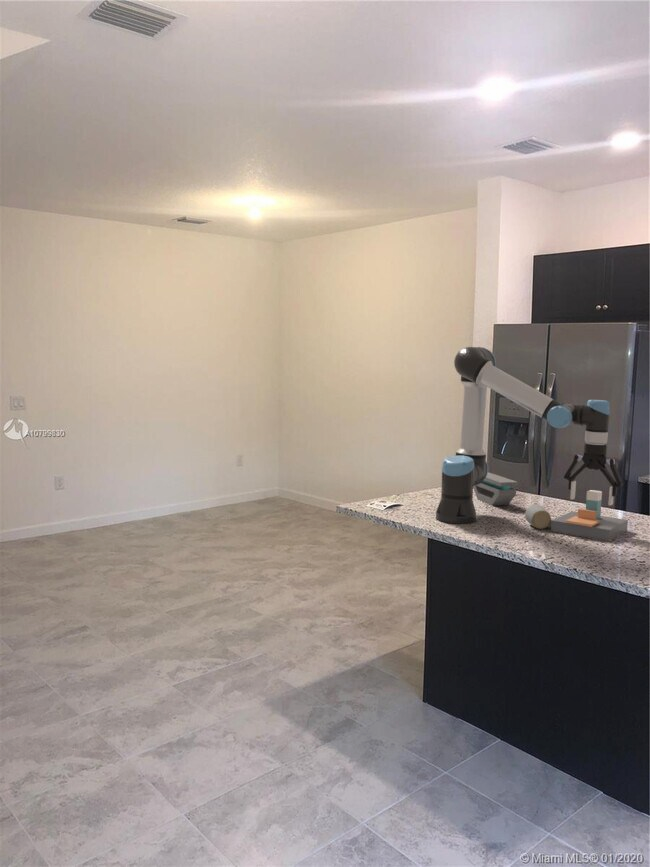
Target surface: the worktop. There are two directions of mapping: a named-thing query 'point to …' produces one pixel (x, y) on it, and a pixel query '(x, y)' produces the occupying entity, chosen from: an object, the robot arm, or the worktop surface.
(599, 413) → the robot arm
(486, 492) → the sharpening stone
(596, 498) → the teal plug
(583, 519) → the terracotta shutter
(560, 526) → the socket block
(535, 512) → the ceramic mug
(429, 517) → the worktop surface
